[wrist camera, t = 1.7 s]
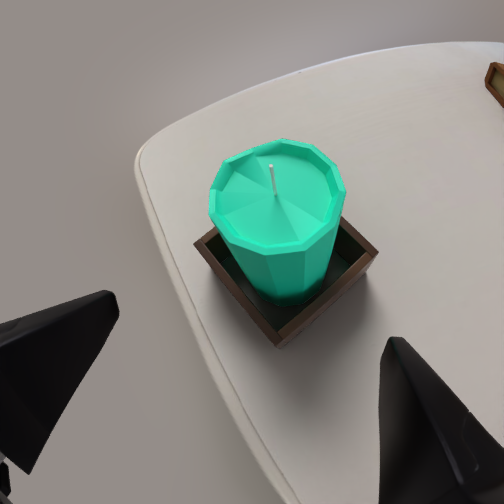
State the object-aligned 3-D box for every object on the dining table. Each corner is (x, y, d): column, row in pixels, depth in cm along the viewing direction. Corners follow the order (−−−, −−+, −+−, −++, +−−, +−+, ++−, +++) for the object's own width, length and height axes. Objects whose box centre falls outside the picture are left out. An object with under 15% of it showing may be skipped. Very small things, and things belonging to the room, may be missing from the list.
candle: (329, 235, 22) (347, 118, 11) (322, 311, 20) (350, 245, 9) (254, 229, 23) (214, 116, 12) (241, 302, 21) (176, 231, 10)
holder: (279, 349, 19) (275, 346, 16) (210, 263, 23) (192, 243, 19) (366, 271, 20) (379, 251, 17) (291, 199, 24) (289, 169, 20)
